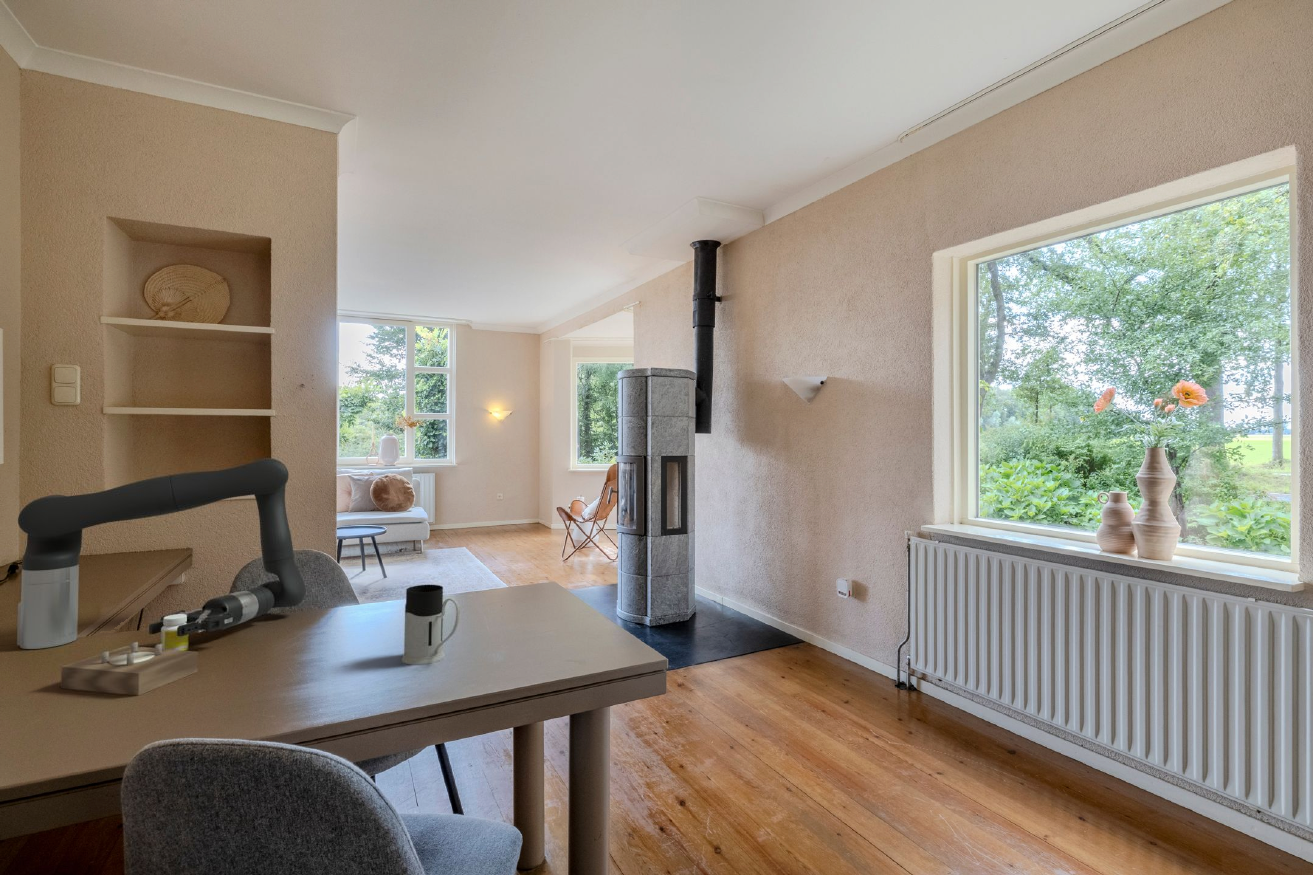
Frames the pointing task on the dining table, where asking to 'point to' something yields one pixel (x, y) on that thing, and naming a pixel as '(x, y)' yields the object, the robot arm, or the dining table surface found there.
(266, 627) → the dining table surface
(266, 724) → the dining table surface
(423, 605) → the glass holder
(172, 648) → the supplement bottle
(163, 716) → the dining table surface
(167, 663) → the seat block
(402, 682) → the dining table surface
